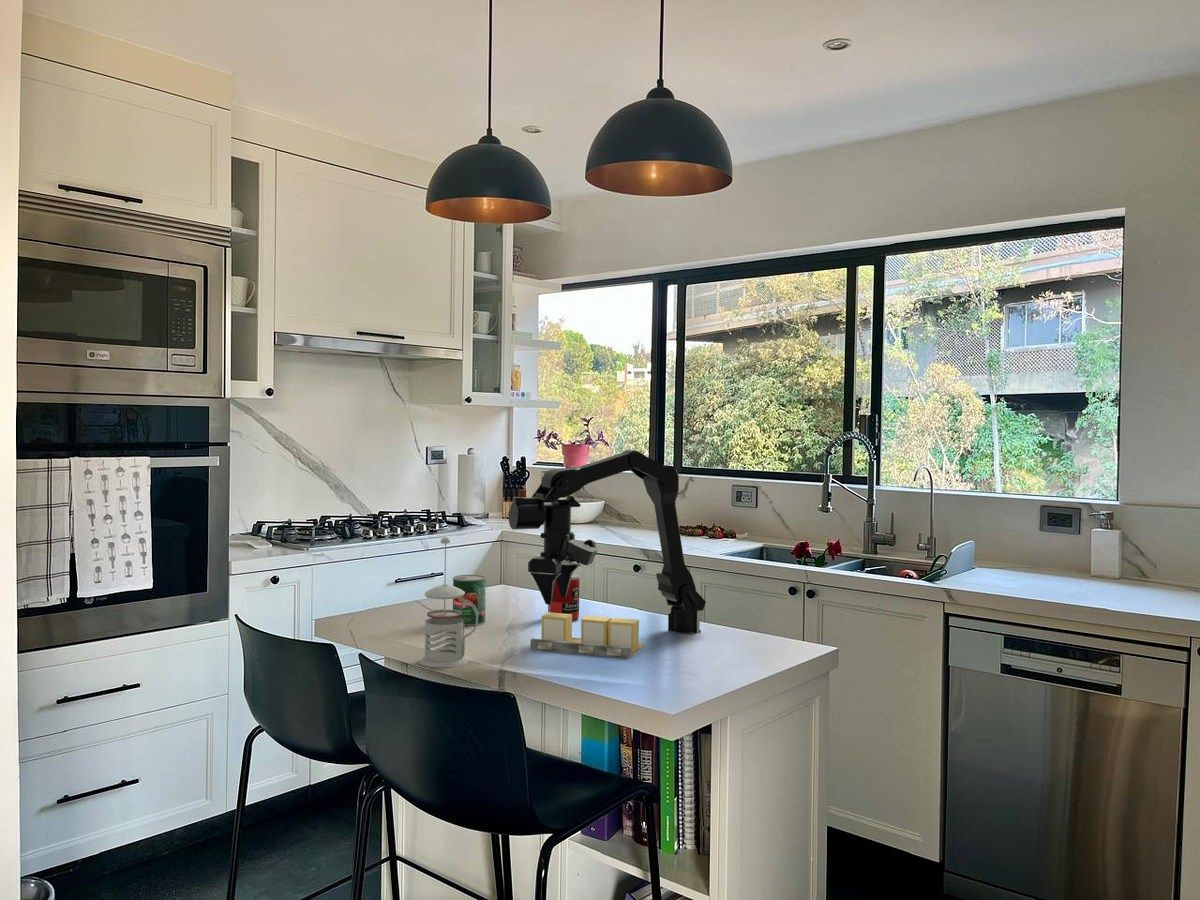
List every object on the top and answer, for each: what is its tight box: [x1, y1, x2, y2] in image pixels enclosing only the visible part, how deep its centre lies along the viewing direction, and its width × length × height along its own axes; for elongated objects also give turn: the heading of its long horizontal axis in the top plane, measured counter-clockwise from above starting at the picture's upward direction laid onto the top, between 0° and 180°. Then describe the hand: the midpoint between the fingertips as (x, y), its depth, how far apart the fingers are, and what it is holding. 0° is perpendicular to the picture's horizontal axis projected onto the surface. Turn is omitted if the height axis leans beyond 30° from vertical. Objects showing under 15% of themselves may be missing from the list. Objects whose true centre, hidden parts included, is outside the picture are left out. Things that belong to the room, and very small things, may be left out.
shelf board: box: [529, 636, 646, 660], centre depth 188 cm, size 22×13×3 cm, turn 73°
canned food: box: [547, 572, 581, 622], centre depth 220 cm, size 8×8×11 cm
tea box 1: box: [580, 615, 613, 645], centre depth 188 cm, size 6×4×6 cm
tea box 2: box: [608, 617, 640, 652], centre depth 186 cm, size 6×4×6 cm
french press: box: [419, 537, 478, 668], centre depth 178 cm, size 10×12×25 cm
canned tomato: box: [452, 574, 487, 626], centre depth 214 cm, size 8×8×11 cm
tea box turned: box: [541, 611, 573, 642], centre depth 191 cm, size 6×4×6 cm
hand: (556, 600), depth 190 cm, fingers open, 9 cm apart
